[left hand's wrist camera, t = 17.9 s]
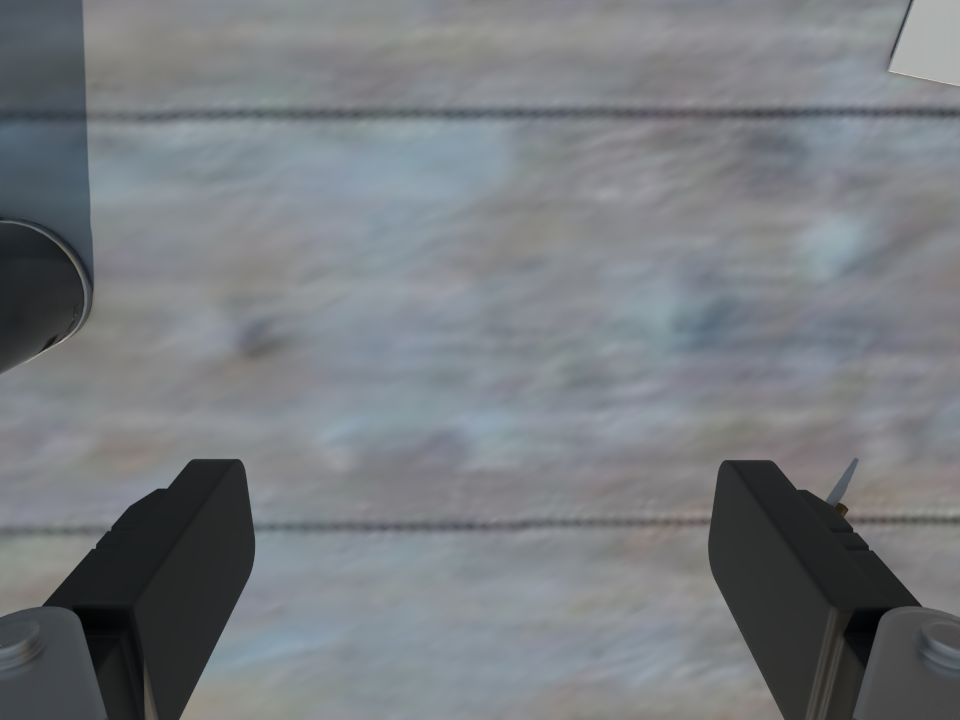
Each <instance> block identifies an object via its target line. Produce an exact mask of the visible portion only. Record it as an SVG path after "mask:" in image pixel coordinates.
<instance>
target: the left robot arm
mask: <svg viewBox="0 0 960 720" xmlns="http://www.w3.org/2000/svg"><path fill="white" fill-rule="evenodd" d="M91 306H92V286H91V282H90V278H89V275H88V272H87V270H86V268H85V266H84V264H83V262H82V261H81V259H80V257H79V256H78V255H77V253H76V252H75V251H74V250H73V248H72V247H71V246H70V245H69V244H68V243H67V242H66V241H64V240H63V239H62V238H61V237H60V236H58V235H57V234H55V233H54V232H52V231H51V230H49V229H47V228H45V227H43V226H41V225H38V224H35V223H33V222H29V221H25V220H18V219H2V218H0V374H2V373H4V372H6V371H8V370H9V369H11V368H13V367H15V366H17V365H18V364H20V363H22V362H24V361H26V360H27V359H29V358H31V357H33V356H35V355H36V354H38V353H40V352H42V351H44V350H45V349H47V350H48V348H49V349H50V348H51V347H53V346H55V345H56V344H59V343H61V342H63V341H64V340H66V339H68V338H70V337H71V336H73V335H74V334H75V333H77V332H78V331H79V330H80V329H81V328H82V326H83V325H84V324H85V322H86V320H87V318H88V316H89V314H90V311H91ZM44 352H45V351H44ZM42 353H43V352H42ZM39 355H40V354H39ZM37 356H38V355H37ZM37 356H36V357H37ZM34 358H35V357H34ZM32 359H33V358H32ZM32 359H31V360H32ZM29 361H30V360H29ZM27 362H28V361H27ZM22 365H23V364H22ZM708 552H709V561H710V567H711V570H712V574H713V576H714V579H715V581H716V583H717V585H718V587H719V589H720V591H721V593H722V595H723V597H724V599H725V601H726V603H727V605H728V607H729V609H730V611H731V613H732V615H733V617H734V619H735V621H736V623H737V625H738V627H739V629H740V631H741V633H742V635H743V637H744V639H745V641H746V643H747V645H748V647H749V649H750V651H751V653H752V655H753V657H754V659H755V661H756V663H757V665H758V667H759V669H760V671H761V673H762V675H763V677H764V679H765V681H766V683H767V685H768V687H769V689H770V691H771V693H772V695H773V697H774V699H775V701H776V703H777V705H778V707H779V709H780V711H781V713H782V715H783V717H784V719H785V720H960V618H959V617H957V616H954V615H952V614H949V613H946V612H943V611H939V610H935V609H931V608H925V607H922V606H921V604H920V603H919V602H918V601H917V600H916V599H915V598H914V596H913V595H912V594H911V593H910V592H909V591H908V590H907V589H906V587H905V586H904V585H903V584H902V583H901V582H900V581H899V580H898V578H897V577H896V576H895V575H894V574H893V573H892V572H891V571H890V569H889V568H888V567H887V566H886V565H885V564H884V563H883V562H882V560H881V559H880V558H879V557H878V556H877V555H876V554H875V553H874V551H869V546H868V545H867V544H866V542H865V541H864V540H863V539H862V538H861V537H860V536H859V535H858V533H854V532H853V528H852V527H851V525H850V524H849V523H848V522H847V521H846V520H845V519H844V518H843V516H842V515H841V514H840V513H839V512H838V511H837V510H836V509H835V508H834V507H833V506H831V505H830V504H828V503H826V502H825V501H823V500H822V499H820V498H818V497H817V496H815V495H814V494H812V493H810V492H809V491H807V490H797V489H796V488H795V487H794V486H793V485H792V483H791V482H790V481H789V480H788V478H787V477H786V476H785V475H784V474H783V472H782V471H781V470H780V469H779V468H778V466H777V465H776V464H775V463H774V462H773V461H770V460H725V461H723V462H722V464H721V466H720V468H719V471H718V477H717V484H716V491H715V498H714V505H713V512H712V519H711V526H710V533H709V541H708ZM254 556H255V535H254V528H253V521H252V514H251V507H250V500H249V493H248V486H247V479H246V472H245V468H244V465H243V463H242V462H241V461H240V460H239V459H193V460H191V461H190V462H189V463H188V464H187V465H186V467H185V468H184V469H183V470H182V471H181V473H180V474H179V475H178V476H177V477H176V479H175V480H174V481H173V482H172V484H171V485H170V486H169V487H168V488H167V489H157V490H155V491H153V492H152V493H150V494H149V495H147V496H145V497H144V498H142V499H141V500H139V501H137V502H136V503H134V504H133V505H131V506H130V507H129V508H128V509H127V510H126V511H125V512H124V513H123V514H122V516H121V517H120V518H119V519H118V520H117V521H116V522H115V524H114V525H113V526H112V529H111V531H108V532H107V533H106V534H105V535H104V536H103V537H102V538H101V540H100V541H99V542H98V543H97V544H96V549H92V550H91V551H90V552H89V553H88V554H87V555H86V557H85V558H84V559H83V560H82V561H81V562H80V563H79V565H78V566H77V567H76V568H75V569H74V570H73V571H72V572H71V574H70V575H69V576H68V577H67V578H66V579H65V580H64V582H63V583H62V584H61V585H60V586H59V587H58V588H57V590H56V591H55V592H54V593H53V594H52V595H51V596H50V598H49V599H48V600H47V601H46V602H45V603H44V604H43V605H42V607H35V608H29V609H25V610H21V611H17V612H14V613H11V614H8V615H6V616H3V617H1V618H0V720H179V719H180V717H181V715H182V713H183V711H184V709H185V707H186V705H187V703H188V700H189V698H190V696H191V694H192V692H193V690H194V688H195V686H196V684H197V682H198V680H199V678H200V676H201V674H202V672H203V670H204V668H205V666H206V664H207V662H208V660H209V658H210V656H211V654H212V652H213V650H214V648H215V646H216V644H217V642H218V640H219V637H220V635H221V633H222V631H223V629H224V627H225V625H226V623H227V621H228V619H229V617H230V615H231V613H232V611H233V609H234V607H235V605H236V603H237V601H238V599H239V597H240V595H241V593H242V591H243V589H244V587H245V585H246V583H247V581H248V579H249V576H250V574H251V571H252V567H253V562H254Z"/></svg>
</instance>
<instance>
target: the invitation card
mask: <svg viewBox="0 0 960 720" xmlns="http://www.w3.org/2000/svg"><path fill="white" fill-rule="evenodd" d="M887 71H890V72H895V73H900V74H904V75H909V76H914V77H919V78H924V79H928V80H933V81H938V82H943V83H947V84H952V85H957V86H960V0H913V1H912V4H911V6H910V9H909V12H908V15H907V17H906V20H905V23H904V26H903V28H902V31H901V34H900V36H899V39H898V42H897V45H896V47H895V50H894V53H893V56H892V58H891V61H890V64H889V66H888V69H887Z"/></svg>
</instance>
